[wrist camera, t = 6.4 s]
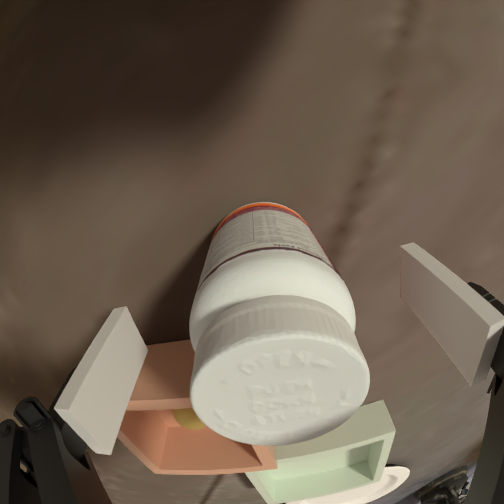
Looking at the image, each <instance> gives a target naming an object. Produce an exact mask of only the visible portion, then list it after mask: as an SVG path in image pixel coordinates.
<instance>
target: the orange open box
mask: <svg viewBox="0 0 504 504" xmlns="http://www.w3.org/2000/svg"><path fill="white" fill-rule="evenodd" d="M146 347H147V349H148V352H147V355H146V357H145V360H144V362H143V365H142V368H141V370H140V373H139V375H138V378H137V381H136V384H135V386H134V389H133V392H132V394H131V397H130V400H129V403H128V406H127V408H126V411H125V414H124V417H123V420H122V423H121V426H120V429H119V432H118V435H117V437H118V439H119V440H120V441H121V442H122V443H123V444H124V445H125V446H126V447H127V448H128V449H129V450H130V451H131V452H132V453H133V454H134V455H135V456H136V457H137V458H139V459H140V460H141V461H142V462H143V463H144V464H145V465H146V466H147V467H148V468H149V469H150V470H152V471H153V472H154V473H155V474H178V475H208V474H230V473H244V472H254V471H263V470H271V469H278V467H277V455H276V446H262V445H252V444H247V443H242V442H238V441H235V440H232V439H229V438H226V437H224V436H222V435H220V434H218V433H216V432H215V431H213V430H211V429H210V428H209V427H207V426H205V427H203V428H200V429H195V430H192V429H187V428H184V427H182V426H181V425H180V424H179V423H178V422H177V421H176V420H175V418H174V416H173V412H172V409H185V408H193V407H192V404H191V401H190V382H191V376H192V371H193V366H194V356H195V351H194V349H193V346H192V343H191V339H189V340H182V341H175V342H168V343H161V344H153V345H146Z"/></svg>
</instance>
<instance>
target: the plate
mask: <svg viewBox="0 0 504 504" xmlns="http://www.w3.org/2000/svg"><path fill="white" fill-rule="evenodd" d="M409 473H410V470H409V469H408V468H407V467H405V466H399V465H393V466H385V468H384V471H383V474H382V477H381V479H380V481H379V482H375V483H372V484H369V485H366V486H362V487H359V488H355V489H351V490H347V491H343V492H339V493H335V494H331V495H326V496H321V497H316V498H311V499H306V500H300V501H293V502H286V504H365V503H368V502H371V501H373V500H375V499H378V498H380V497H382V496H384V495H386V494H387V493H389V492H391V491H392V490H394V489H396V488H397V487H398V486H400V485H401V484H402V483H403V482H404V481H405V480H406V479H407V477H408V476H409Z"/></svg>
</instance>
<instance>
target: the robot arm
mask: <svg viewBox="0 0 504 504" xmlns="http://www.w3.org/2000/svg"><path fill="white" fill-rule="evenodd" d="M400 267H401V284H400V297H401V298H402V299H403V300H404V301H405V303H406V304H407V305H408V306H409V307H410V309H411V310H412V311H413V312H414V313H415V315H416V316H417V317H418V318H419V320H420V321H421V322H422V323H423V324H424V326H425V327H426V328H427V329H428V331H429V332H430V333H431V334H432V336H433V337H434V338H435V340H436V341H437V342H438V343H439V345H440V346H441V347H442V349H443V350H444V351H445V353H446V354H447V355H448V356H449V358H450V359H451V360H452V362H453V363H454V365H455V366H456V367H457V369H458V370H459V371H460V373H461V374H462V375H463V377H464V378H465V380H466V381H467V382H468V384H469V385H470V387H472V386H473V385H475V384H477V383H479V382H481V381H483V380H484V379H486V377H487V375H488V372H489V369H490V367H491V368H492V369H493V370H494V372H495V375H494V377H493V379H492V382H491V384H490V386H489V389H488V391H487V393H490V391H491V389H492V391H491V399H490V406H489V412H488V418H487V423H486V428H485V433H484V438H483V442H482V446H481V451H480V454H479V458H478V462H477V465H476V469H475V472H474V476H473V479H472V482H471V485H470V488H469V491H468V494H467V496H466V499H465V502H464V504H504V305H503V304H502V303H501V302H500V301H498V300H497V299H495V297H494V296H492V295H491V294H489V292H488V291H486V290H485V289H484V288H483V287H482V286H479V285H477V284H475V283H472V282H469V283H465V282H464V281H463V280H462V279H460V278H459V277H458V276H457V275H456V274H454V273H453V272H452V271H451V270H449V269H448V268H447V267H445V266H444V265H443V264H442V263H440V262H439V261H438V260H436V259H435V258H434V257H433V256H431V255H430V254H429V253H427V252H426V251H425V250H423V249H422V248H421V247H419V246H418V245H416V244H415V243H414V242H413V243H409V244H406V245H402V246H400ZM147 352H148V349H147V347H146V345H145V343H144V341H143V339H142V337H141V335H140V333H139V331H138V329H137V327H136V325H135V323H134V321H133V319H132V317H131V315H130V313H129V311H128V309H127V306H126V307H120V308H115V309H113V311H112V312H111V314H110V315H109V317H108V318H107V320H106V321H105V323H104V324H103V326H102V328H101V329H100V331H99V332H98V334H97V335H96V337H95V339H94V340H93V342H92V343H91V345H90V347H89V348H88V350H87V351H86V353H85V355H84V356H83V358H82V360H81V361H80V363H79V365H78V366H77V367H76V368H75V369H74V370H73V371H72V372H71V373H70V374H69V375H68V377H67V379H66V380H65V383H64V384H63V386H62V387H61V390H60V391H59V393H58V394H57V396H56V398H55V400H54V401H53V403H52V405H51V407H50V409H49V411H47V410H46V409H45V408H44V406H43V405H42V404H41V403H40V402H39V400H38V399H37V398H35V397H28V398H25V399H23V400H22V401H21V402H20V403H19V404H18V405H17V406H16V408H15V410H14V416H15V417H16V418H17V420H18V421H19V422H20V423H21V424H22V425H23V426H24V427H19V426H18V425H17V424H16V423H15V421H14V420H12V419H7V420H5V421H2V422H1V423H0V504H112V502H111V501H110V499H109V497H108V495H107V493H106V491H105V489H104V487H103V485H102V483H101V481H100V479H99V476H98V474H97V472H96V470H95V468H94V465H93V463H92V461H91V458H90V456H89V455H88V453H87V452H86V451H85V449H86V447H87V445H88V446H89V447H90V448H91V449H92V450H93V451H94V452H95V453H98V454H106V455H111V453H112V450H113V447H114V444H115V441H116V438H117V435H118V432H119V429H120V426H121V423H122V420H123V417H124V414H125V411H126V408H127V406H128V403H129V400H130V397H131V394H132V392H133V389H134V386H135V384H136V381H137V378H138V375H139V373H140V370H141V368H142V365H143V362H144V360H145V357H146V355H147ZM20 462H21V463H22V464H23V465H24V466H25V467H26V468H27V472H24V471H23V470H22V469H20Z"/></svg>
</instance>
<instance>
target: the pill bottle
mask: <svg viewBox="0 0 504 504" xmlns="http://www.w3.org/2000/svg"><path fill="white" fill-rule="evenodd" d="M354 331H355V309H354V305H353V301H352V298H351V296H350V293H349V291H348V288H347V287H346V285H345V283H344V281H343V279H342V277H341V275H340V274H339V272H338V271H337V269H336V268H335V266H334V265H333V263H332V262H331V260H330V259H329V257H328V256H327V254H326V253H325V251H324V249H323V247H322V246H321V244H320V243H319V241H318V239H317V238H316V236H315V235H314V233H313V232H312V230H311V229H310V227H309V226H308V224H307V223H306V222H305V221H304V219H303V218H302V217H301V216H300V215H298V214H297V213H296V212H295V211H293V210H291V209H290V208H288V207H286V206H283V205H281V204H277V203H272V202H257V203H251V204H247V205H244V206H242V207H240V208H238V209H236V210H234V211H233V212H231V213H230V214H229V215H228V216H226V217H225V218H224V219H223V220H222V222H221V223H220V224H219V226H218V227H217V229H216V231H215V233H214V235H213V238H212V240H211V244H210V247H209V251H208V254H207V258H206V261H205V264H204V268H203V271H202V274H201V277H200V281H199V284H198V288H197V291H196V294H195V298H194V301H193V305H192V309H191V313H190V321H189V333H190V339H191V343H192V346H193V349H194V351H195V356H194V366H193V371H192V376H191V382H190V401H191V404H192V407H193V410H194V411H195V413H196V415H197V416H198V417H199V419H200V420H201V421H202V422H203V423H204V424H205V425H206V426H207V427H209V428H210V429H211V430H213V431H215V432H216V433H218V434H220V435H222V436H224V437H226V438H229V439H232V440H235V441H238V442H242V443H247V444H252V445H262V446H280V445H289V444H294V443H300V442H304V441H308V440H311V439H314V438H317V437H320V436H322V435H324V434H326V433H328V432H330V431H332V430H334V429H336V428H337V427H339V426H340V425H342V424H343V423H344V422H346V421H347V420H348V419H349V418H350V417H351V416H352V415H354V414H355V412H356V411H357V410H358V409H359V407H360V406H361V404H362V403H363V401H364V399H365V397H366V396H367V393H368V389H369V384H370V375H369V369H368V366H367V363H366V360H365V358H364V356H363V354H362V351H361V349H360V347H359V345H358V342H357V339H356V337H355V334H354Z"/></svg>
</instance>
